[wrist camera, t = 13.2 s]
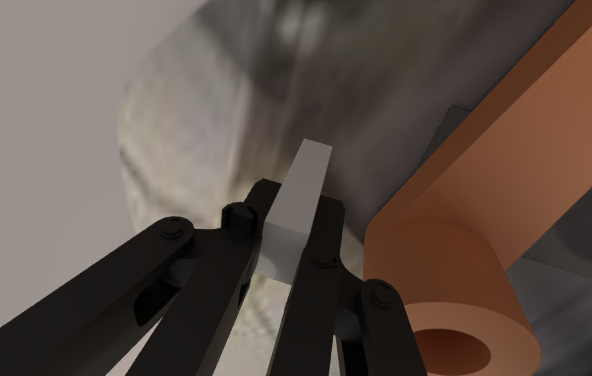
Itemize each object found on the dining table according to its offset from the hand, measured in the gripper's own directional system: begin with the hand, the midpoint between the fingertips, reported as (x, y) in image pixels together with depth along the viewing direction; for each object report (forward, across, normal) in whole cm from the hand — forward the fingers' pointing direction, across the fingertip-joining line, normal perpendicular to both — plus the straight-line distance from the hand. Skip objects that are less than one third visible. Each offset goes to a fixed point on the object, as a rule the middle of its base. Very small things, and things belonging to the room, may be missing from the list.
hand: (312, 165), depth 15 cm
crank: (-1, -13, 0) cm, 13 cm away
